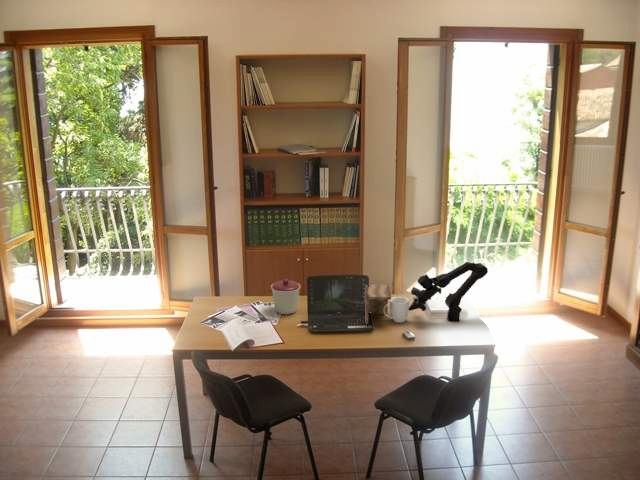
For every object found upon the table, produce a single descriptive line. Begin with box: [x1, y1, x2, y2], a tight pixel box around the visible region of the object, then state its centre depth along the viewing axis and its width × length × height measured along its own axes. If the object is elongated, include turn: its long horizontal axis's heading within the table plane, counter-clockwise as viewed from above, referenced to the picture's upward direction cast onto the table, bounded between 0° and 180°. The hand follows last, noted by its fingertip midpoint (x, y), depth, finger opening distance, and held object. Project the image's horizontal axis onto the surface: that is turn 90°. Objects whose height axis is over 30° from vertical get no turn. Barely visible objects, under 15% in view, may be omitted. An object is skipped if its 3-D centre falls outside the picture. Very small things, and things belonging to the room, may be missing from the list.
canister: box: [270, 278, 301, 315], centre depth 370 cm, size 18×18×21 cm
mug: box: [383, 296, 410, 324], centre depth 359 cm, size 15×11×13 cm
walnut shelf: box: [364, 283, 392, 325], centre depth 359 cm, size 14×20×18 cm
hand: (408, 310), depth 358 cm, fingers closed, pressing on mug
